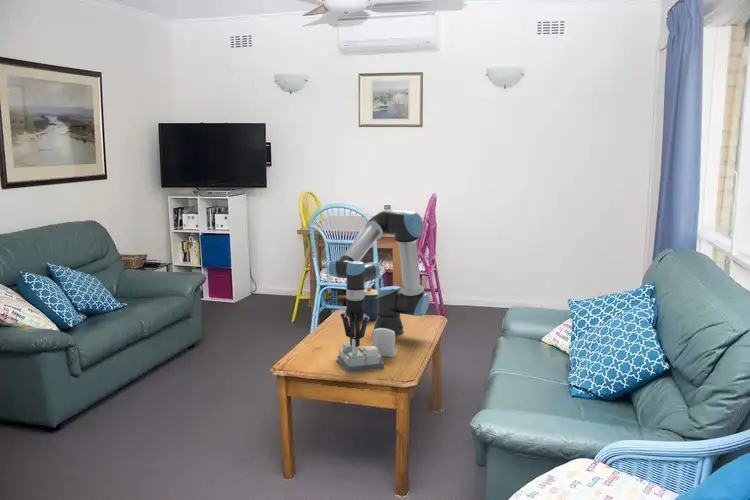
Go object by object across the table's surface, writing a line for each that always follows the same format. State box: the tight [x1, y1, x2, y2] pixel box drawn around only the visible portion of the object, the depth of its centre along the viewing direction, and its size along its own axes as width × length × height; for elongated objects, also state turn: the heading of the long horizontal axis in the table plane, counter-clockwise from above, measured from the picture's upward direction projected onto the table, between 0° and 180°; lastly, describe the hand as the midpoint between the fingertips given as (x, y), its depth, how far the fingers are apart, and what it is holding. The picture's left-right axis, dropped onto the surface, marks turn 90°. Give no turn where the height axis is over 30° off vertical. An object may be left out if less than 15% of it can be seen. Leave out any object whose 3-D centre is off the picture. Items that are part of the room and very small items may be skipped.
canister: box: [361, 286, 378, 321], centre depth 343 cm, size 13×13×18 cm
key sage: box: [348, 352, 362, 359], centre depth 262 cm, size 5×5×4 cm
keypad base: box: [336, 348, 385, 373], centre depth 266 cm, size 16×16×5 cm
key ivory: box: [363, 345, 378, 357], centre depth 264 cm, size 5×5×4 cm
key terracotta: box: [358, 345, 367, 352], centre depth 271 cm, size 5×5×4 cm
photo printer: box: [372, 328, 396, 358], centre depth 279 cm, size 10×4×12 cm, turn 69°
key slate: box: [342, 342, 352, 354], centre depth 268 cm, size 5×5×4 cm
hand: (354, 353), depth 261 cm, fingers closed
